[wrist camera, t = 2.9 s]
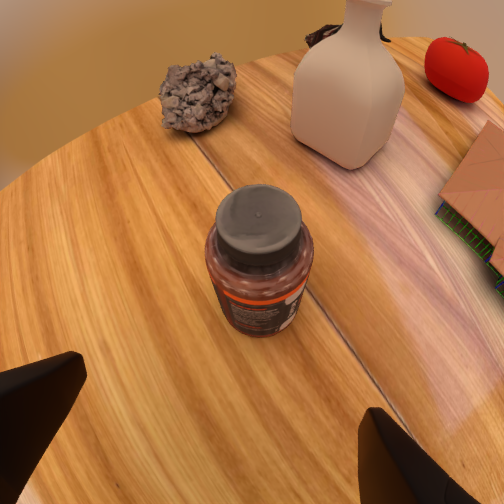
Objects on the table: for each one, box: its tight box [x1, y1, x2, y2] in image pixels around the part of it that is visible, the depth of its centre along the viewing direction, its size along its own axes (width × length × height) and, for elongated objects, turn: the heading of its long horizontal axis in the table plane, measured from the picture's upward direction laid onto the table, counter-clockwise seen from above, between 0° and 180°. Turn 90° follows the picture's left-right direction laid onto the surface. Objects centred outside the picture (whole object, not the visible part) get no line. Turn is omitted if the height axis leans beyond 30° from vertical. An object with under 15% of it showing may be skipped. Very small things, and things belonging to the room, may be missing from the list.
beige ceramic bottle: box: [291, 0, 405, 170], centre depth 23 cm, size 10×10×23 cm
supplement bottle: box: [205, 184, 314, 337], centre depth 19 cm, size 6×6×11 cm
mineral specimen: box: [159, 52, 237, 133], centre depth 33 cm, size 12×9×10 cm
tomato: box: [424, 37, 489, 103], centre depth 36 cm, size 13×14×12 cm
